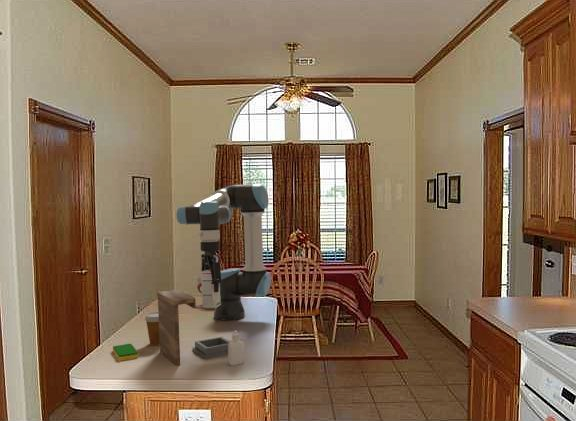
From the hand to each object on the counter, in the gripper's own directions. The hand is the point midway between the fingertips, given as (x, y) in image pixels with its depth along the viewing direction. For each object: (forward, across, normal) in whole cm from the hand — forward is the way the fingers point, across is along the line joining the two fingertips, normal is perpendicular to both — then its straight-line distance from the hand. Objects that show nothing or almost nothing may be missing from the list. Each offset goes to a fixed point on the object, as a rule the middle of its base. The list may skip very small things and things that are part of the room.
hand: (211, 298), depth 209 cm
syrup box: (+3, 0, 0) cm, 3 cm away
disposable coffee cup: (+20, -21, -16) cm, 33 cm away
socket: (+20, +3, -1) cm, 20 cm away
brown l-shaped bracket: (+20, +1, -15) cm, 25 cm away
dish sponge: (+21, -14, -31) cm, 40 cm away
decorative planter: (+19, -75, +32) cm, 84 cm away
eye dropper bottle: (+20, +21, +1) cm, 29 cm away
